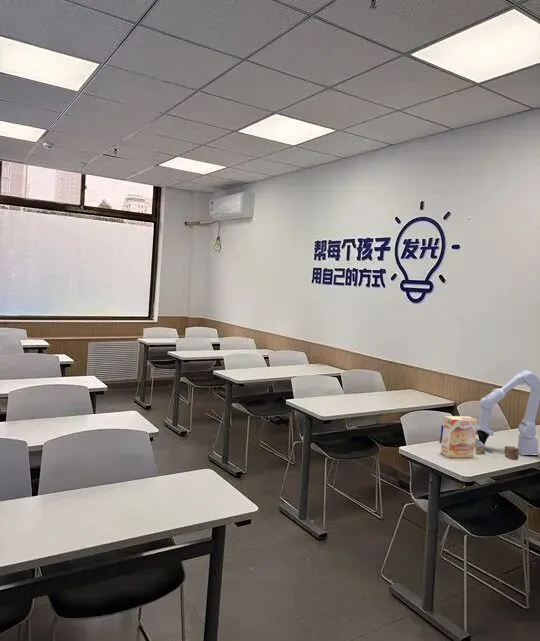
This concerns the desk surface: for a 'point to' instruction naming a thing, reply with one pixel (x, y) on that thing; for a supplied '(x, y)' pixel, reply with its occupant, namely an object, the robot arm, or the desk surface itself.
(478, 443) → the slate-blue door
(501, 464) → the desk surface
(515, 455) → the walnut block
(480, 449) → the oak door frame
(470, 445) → the coffeecake box
